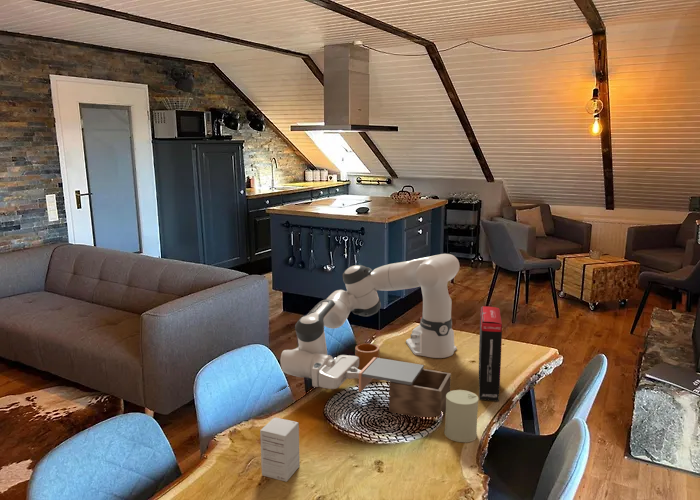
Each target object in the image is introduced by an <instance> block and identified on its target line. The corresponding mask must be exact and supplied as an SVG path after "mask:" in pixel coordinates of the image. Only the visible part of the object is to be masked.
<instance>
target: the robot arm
mask: <svg viewBox="0 0 700 500" xmlns="http://www.w3.org/2000/svg"><path fill="white" fill-rule="evenodd" d="M459 271H460V262H459V259H458V258H457V257H456V256H455V255H453V254H451V253H440V254H435V255H431V256H426V257H419V258H416V259H411V260H407V261H400V262H394V263H389V264H385V265H381V266H378V267H376V268H374V269H372V268H370V267H367V266H365V265H362V264H356V265H351V266H349V267H348V268H346V269H345V270H344V271H343V273H342V281H343V283H344V284H345V288H346V290H344V289H337V290H334V291H333V292H332V293H331V294H330V295H328V297H327V298H326V299H323V300H321V301H319V302H318V303H317V304H316V305H314V307H313V308H312V309H311V310H309V312H308V313H307V314H305V315H304V316H302V317H300V318H299V320H297V322H296V323H295V325H294V329H295V333H296V337H297V342H298V346H297V347H296V348H293V349H284V350H282V352H281V354H280V357H279V359H280V360H279V364H280V369H281V371H282V372H283V373H284V374H287V375H290V376H293V377H298V378H308V379H311V386H312V387H314V388H318V387H320V388H323V389H329V390H330V389H331V390H334V389H338V388H339V387H340V386H341V385H342V384H344V382H345V381H346V380H347V379H349V380H351V379H358V380H359V372H360V371H361V370H359V369H357V368H358V367H359V357H357V356H355V355H350V354H349V355H347V354H340V355H338V356H337V357H333V356H332V355H330V354H328V349H327V348H328V347H327V340H326V332H325V327H326V328H328V329H331V330H334V329H339V328H340V327H342V326H343V325H344V324H345V322H347V319H348V318H349V315H350V313H351V312H352V313H353V314H354V315H358V316H361V317H371V316H373V315H376V314H377V313H378V312H379V311H380V309H381V308H382V303H381V299H380V297H379V294H378V291H386V292H387V291H388V292H389V291H390V292H391V291H402V290H408V289H415V288H418V287H420V288H421V294H422V315H419V316H420V317H419V319H420V322H419V324H418V325H417V326H416V327H414V328H413V329H412V331H411V334H410V337H409V338H407V339H406V340H405V343H406V345H407V346H408V347H409V349H410V351H411V352H412V354H414V355H415V356H423V357H426V358H431V359H432V358H433V359H442V358H443V359H444V358H449V357H451V356H453V354H454V353H455V351H456V350H457V349H458V348H457V346H456V345H455V332H454V330H453V328H452V326H453V319H452V298H451V296H450V294H449V290H448V283H449V281H452V280H453V279H454V278H455V277H456V276H457V274H458V272H459Z"/></svg>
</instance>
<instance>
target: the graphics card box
mask: <svg viewBox="0 0 700 500" xmlns="http://www.w3.org/2000/svg"><path fill="white" fill-rule="evenodd" d="M479 315H480V319H479V341H478V342H479V345H478V347H479V349H478V398H479V400H481V401H491V402H499V401H500V387H501V364H502V363H501V362H502V342H503V341H502V340H503V323H502V322H503V321H502V317H501V311H500V308H499V307H495V306H487V305H485V306H481V307H480V314H479Z"/></svg>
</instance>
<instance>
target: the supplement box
mask: <svg viewBox="0 0 700 500" xmlns="http://www.w3.org/2000/svg"><path fill="white" fill-rule="evenodd" d="M299 425H300V424H299V422H297V421H294V420H289V419H286V418H284V419H283V418H280V417H272V418H271V420H270V421H268V423H266V424H265V425H264V426H263V427H262V428H261V429H260V431H259V432H260V433H259V434H260V438H259V439H260V458H261V459H260V460H261V475H262V476H264V477H267V478H270V479H275V480H278V481H282V482H288V481H289V480H290V478H291V477H293V475H294V473H295V472H296V471H297V470H298V469H299V468H300V467H301V466H300V465H301V464H300V463H301V461H300V457H301V456H300V426H299Z"/></svg>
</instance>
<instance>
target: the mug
mask: <svg viewBox="0 0 700 500" xmlns="http://www.w3.org/2000/svg"><path fill="white" fill-rule="evenodd" d="M354 354H355V355H354V356H357V357H359V367H358V368H357V369H359V370H362V369H363V368H364V367H365V366H366V365H367V364H368V363H369V362H370V361H371V360H372V359H373V358H374V357H376V359H377V358H380V347H379V345H377V344H375V343H368V342H366V343H365V342H364V343H359V344H357V345H355V348H354Z"/></svg>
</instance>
